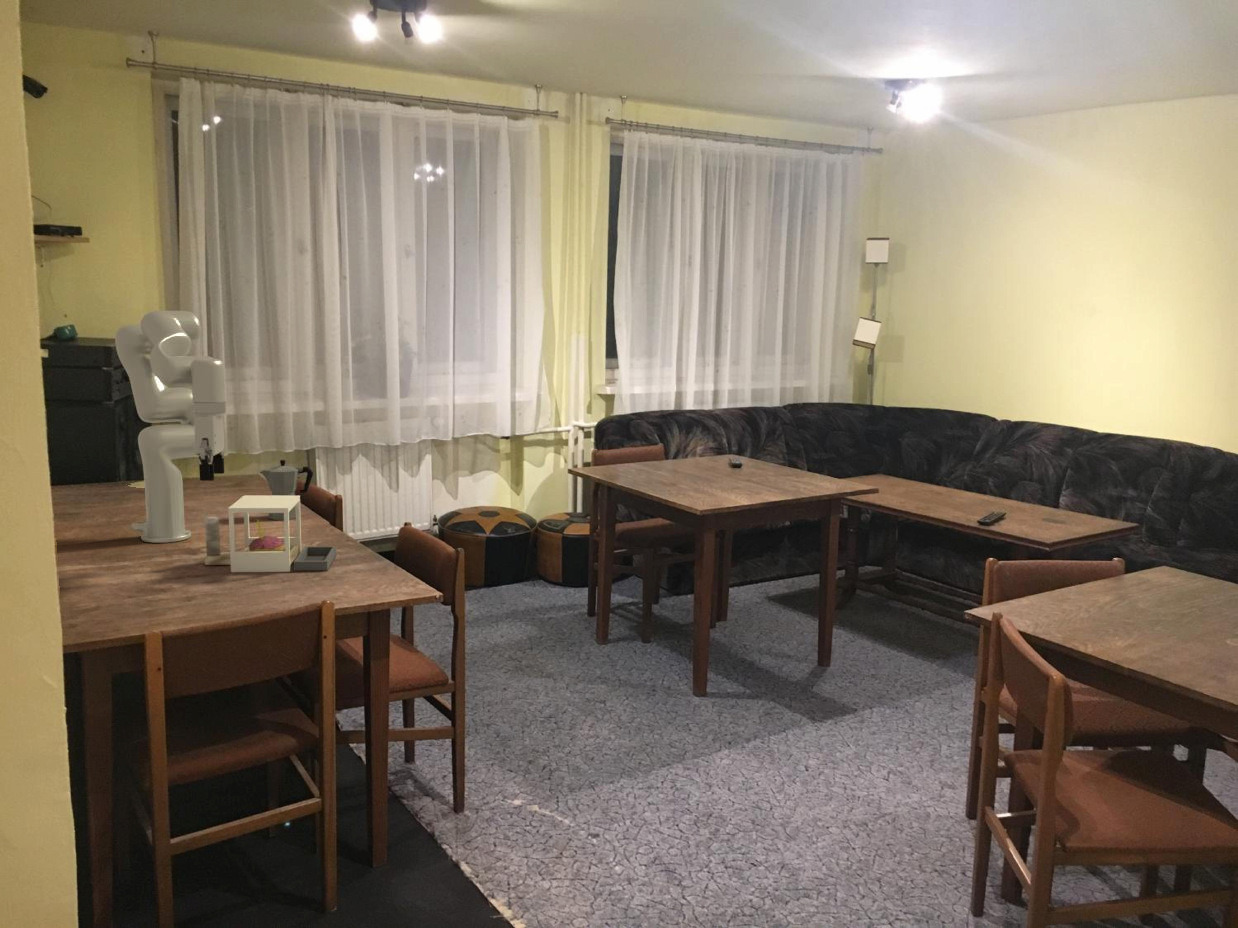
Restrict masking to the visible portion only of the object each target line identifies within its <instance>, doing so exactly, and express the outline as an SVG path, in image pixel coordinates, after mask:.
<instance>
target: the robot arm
mask: <svg viewBox="0 0 1238 928" xmlns="http://www.w3.org/2000/svg"><path fill="white" fill-rule="evenodd" d="M201 327H202V325H201V323H200V320H199V318H198V317H197V315H196V314H195V313H193V312H191V311H187V310H153V311H149V312H147V313H145V315H143V316H142V318H141V319H140V323H132V324H131V323H130V324H127V325H124V326H121V327H119V328H118V329H117V331H116V333H115V338H114V339H115V340H114V341H115V349H116V353H117V356H118V359H119V360H120V363H121V364H122V367H123V368H124V370H125V372H126V373H127V376H128V377H129V379H128V380H129V382H130V386H131V391H132V395H133V400H134V405H135V409H136V412H137V415H138V417H139V418H140V419H141V421H143V422H145V423H152V424H154V423H170V424H156V425H151V426H148V427H145V428H143V429H142V430H140V432H139V434H138V436H137V443H138V448H139V453H140V456H141V462H142V469H143V481H144V484H145V490H144V499H145V500H144V502H145V517H146V521H145V522H143V523H139V522H138V523H137V522H135V523H131V525H130V529H131V531H132V532H142V533H141V535H140V536H141V537H140V538H141V540H142V542H147V543H151V544H152V543H154V544H157V543H159V544H161V543H162V544H163V543H173V542H175V543H176V542H179V541H184V540H186V539H189V538H190V537H191V536H192V532H191V530H190V529H186V527H185V507H184V506H185V505H184V504H185V503H184V489H183V488H184V487H183V475H182V473H181V471H180V469H179V468H178V466H176V465H175V464H174V463H173V462H172V460H176V459H185V458H187V459H188V458H197V457H198V459H199V460H198V465H199V466H198V467H199V469H198V470H199V480H200V481H202V482H205V481H208V482H209V481H210V482H211V481H212V482H213V481H214V480H215V474H216V475H217V474H220V475H221V474H225V458H224V457H225V456H224V449H225V430H224V418H223V416H226V415H227V404H226V383H225V381H226V379H225V364H224V362H223V361H222V360H221V359H219V358H214V357H212V356H208V355H188V354H189V353H190V351H191V349H192V346H193V345H195V344H196V343H197V342H198V341H199V339H200V337H201V333H202V328H201ZM146 355H148V356H149V358H148V357H147V356H146ZM189 387H191V389H190V388H189ZM172 422H178V423H173V424H172ZM179 422H180V423H179Z"/></svg>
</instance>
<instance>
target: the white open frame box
mask: <svg viewBox="0 0 1238 928" xmlns="http://www.w3.org/2000/svg"><path fill="white" fill-rule="evenodd" d="M295 505H296V519H295V530H296V531H295V532H296V536H290V520H289V511H290V510H291V509H292V508H293V507H294V506H295ZM266 513H267V514H269V513H284V520H283V524H284V525H283V526H284V531H283V532H284V536H280V537H279V536H276V537H277V538H279V539H280V540H282V541H283V543H284V545H285V551H270V552H243V551H236V539H235V538H236V537H235V536H236V535H235V514H243V523H244V524H243V525H244V528H243V529H244V549H245V548H246V547H247V546H249V545H250V543H251V542H252V541H253V540H255V539H257V538H260V536H259V537H258V536H257V537H255V536H254V537H253V536H252V537H251V536H250V515H249V514H266ZM301 524H302V523H301V495H295V496H280V495H272V494H271V495H255V494H254V495H246V494H245V495H243V496H241V497H240V498H239V499H238V500H236V501H235V502H234V503H233V504H231V505H230V506H229V507H228V530H229V535H228V536H229V553H230V560H231V564H230V572H231V573H273V572H274V573H277V572H278V573H279V572H281V573H283V572H284V573H285V572H286V573H287V572H288V573H289V572H291V565H290V546H298V555H299V554H300V553H301V551H302V529H301Z"/></svg>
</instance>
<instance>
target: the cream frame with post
mask: <svg viewBox="0 0 1238 928" xmlns="http://www.w3.org/2000/svg"><path fill="white" fill-rule="evenodd" d="M204 521H205V522H204V525H205V544H206V545H205V546H206V547H205V548H206V555H205V556H204V565H209V566H210V565H211V566H214V565H216V566H217V565H219V566H220V565H231V560H230V552H221V536H220V535H221V534H220V532H221V531H220V517H219V516H207V517H205V519H204ZM283 551H285V549H284V550H283ZM242 552H250V551H249V546H247V547H246V548H245V547H244V549H243V550H242ZM297 557H298V546H290V566H291V565H293V563H294V561H295V560H296V558H297Z"/></svg>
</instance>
